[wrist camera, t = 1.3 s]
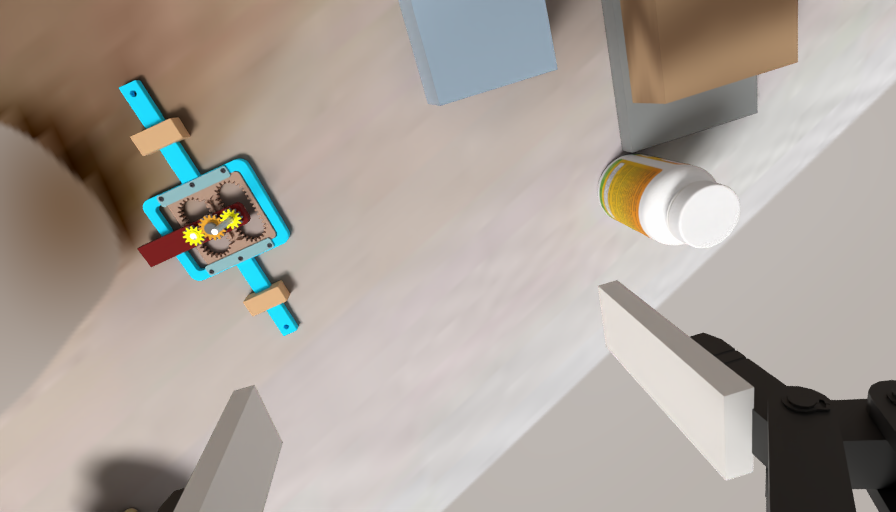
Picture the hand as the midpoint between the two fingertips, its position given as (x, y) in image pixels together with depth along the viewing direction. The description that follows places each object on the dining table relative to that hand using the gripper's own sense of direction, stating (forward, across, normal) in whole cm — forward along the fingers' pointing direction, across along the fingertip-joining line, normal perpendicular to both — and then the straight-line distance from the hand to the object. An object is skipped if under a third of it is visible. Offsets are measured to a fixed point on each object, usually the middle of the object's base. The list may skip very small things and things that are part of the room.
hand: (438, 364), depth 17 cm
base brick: (+18, +22, +10) cm, 30 cm away
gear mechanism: (+20, -14, +4) cm, 24 cm away
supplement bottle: (+19, +18, -2) cm, 26 cm away
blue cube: (+19, +7, +12) cm, 24 cm away
